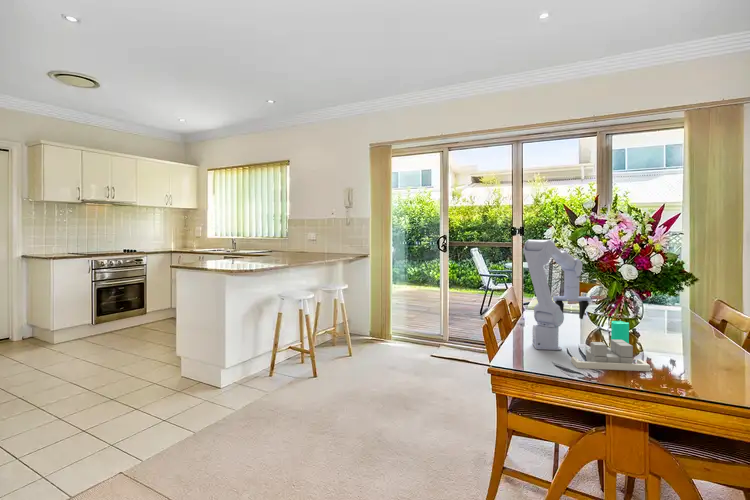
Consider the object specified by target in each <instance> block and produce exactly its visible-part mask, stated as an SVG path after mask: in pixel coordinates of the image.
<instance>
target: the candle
mask: <svg viewBox="0 0 750 500" xmlns="http://www.w3.org/2000/svg"><path fill="white" fill-rule="evenodd" d="M610 328H611V329H610V332H611V334H610V336H611V337H610V340H611V339H614V340H623V341H625V342H627V343H628V344H630V323H629V322H625V321H622V320H611V327H610Z"/></svg>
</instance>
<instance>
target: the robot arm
mask: <svg viewBox="0 0 750 500" xmlns="http://www.w3.org/2000/svg"><path fill="white" fill-rule="evenodd" d="M522 251H523V255H524V258H525V261H526V263H527V267H528V271H529V276H530V278H531V282H532V285H533V290H534V293H535V296H536V299H537V303H536V304H535V305H534V307H533V312H534V313H533V317H534V321H535V322H536V324H533V326H532V342H531V344H532V346H533V347H534V348H535V349H536V350H550V351H552V350H553V351H562V347H560V346H559V327H561V325H563V324H564V320H565V316H564V315H565V314H564V307H565V303H564V302H578V305H579V306H578V307H579V310H578V311H579V313H578V316H579V317H578V318H579V319H580V320H584V316H585V313H586V312H585V311H586V310H587V308H588V306H589V305H590V303H591V302H592V297H590V296H580V277H581V275H582V270H583V263H582V260H581V259H579V258H575V257H574V256H573V255H572V254H571V255H570V253H568V251H567V250H560V249H559V248H558V247H557V246H556V242H555V241H553V240H552V239H527V240H526V241H525V242H524V245H523V249H522ZM551 258H554V259H553V261H554V262H555V263H556V264H557V265H559V266H560V268H561V271H563V273H564V279H563V282H564V284H563V291H564V292H563V295H554V296H552V295H551V290H550V286H549V282H548V279H547V275H546V271H545V268H544V266H545V265H547V264H549V261H550V260H551Z"/></svg>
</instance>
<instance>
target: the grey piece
mask: <svg viewBox="0 0 750 500" xmlns="http://www.w3.org/2000/svg"><path fill="white" fill-rule="evenodd" d="M570 362H571V364H572V365H573V366H574V367H575V368H577V369H589V370H593V369H594V370H608V371H609V370H610V371H611V370H612V371H632V372H633V371H635V372H636V371H639V372H651V365H650V364H649V363H647V362H646V361H644V360H643V359H641V358H637V359H636V363H634V362H633V363H608V362H588V361H582V360H581V361H580V360H579V359H578V358H577V357H576V356H571V360H570Z"/></svg>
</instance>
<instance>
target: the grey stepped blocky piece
mask: <svg viewBox="0 0 750 500" xmlns="http://www.w3.org/2000/svg"><path fill="white" fill-rule="evenodd" d="M633 351H634V346H633V345H632V344H630V343H629V344H628V343H627V342H625V341H623V340H614V339H611V338H610V347H609V346H608V345H607V344H606V343H604V342H602V341H590V349H586V350H585V361H586V362H608V363H633V364H634V361H633V359H634V358H633V356H634V352H633Z"/></svg>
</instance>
